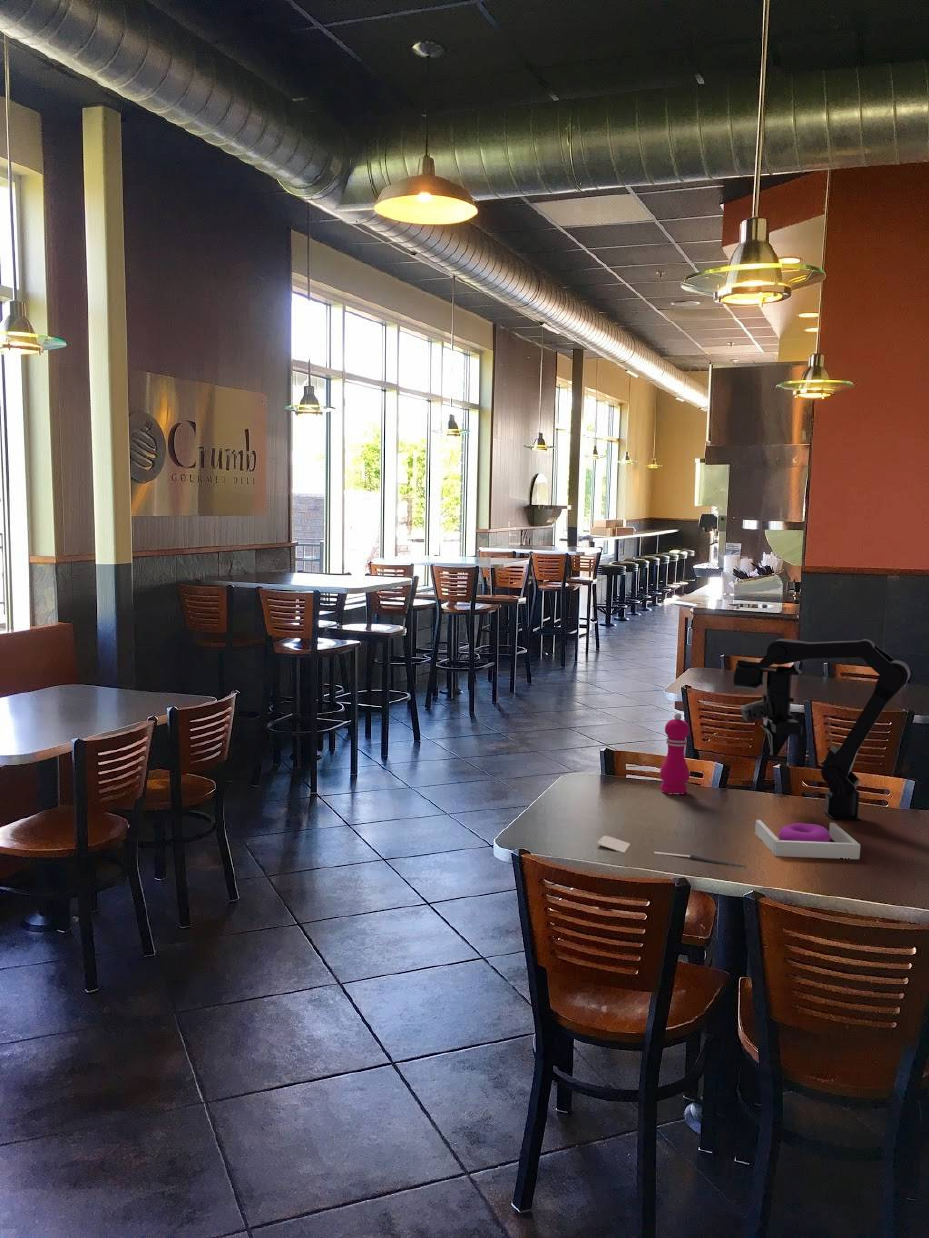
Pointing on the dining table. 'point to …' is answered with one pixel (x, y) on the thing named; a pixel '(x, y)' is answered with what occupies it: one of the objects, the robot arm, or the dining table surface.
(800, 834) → the donut
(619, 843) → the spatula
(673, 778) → the pepper mill
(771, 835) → the tray
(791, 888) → the dining table surface
